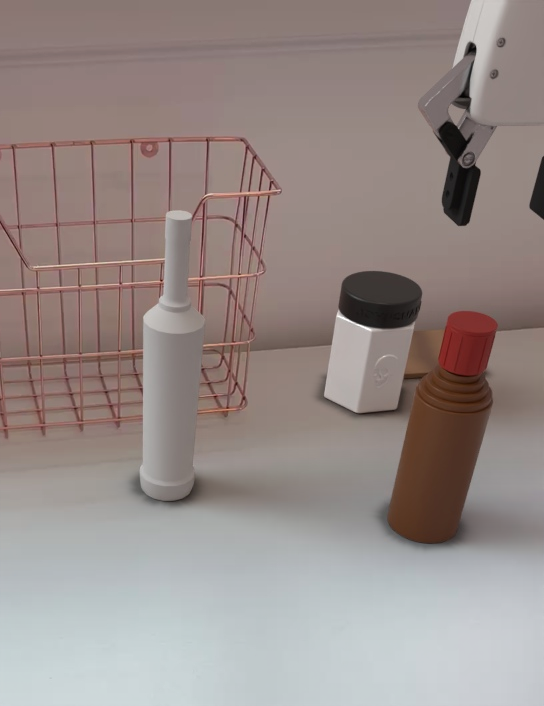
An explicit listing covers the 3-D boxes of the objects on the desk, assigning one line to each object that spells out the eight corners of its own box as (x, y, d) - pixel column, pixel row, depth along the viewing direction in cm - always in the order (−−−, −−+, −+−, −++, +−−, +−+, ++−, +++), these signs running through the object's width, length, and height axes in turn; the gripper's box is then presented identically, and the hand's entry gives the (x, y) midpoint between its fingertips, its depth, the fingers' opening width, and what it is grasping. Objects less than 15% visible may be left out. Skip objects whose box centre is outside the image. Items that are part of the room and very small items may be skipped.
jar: (337, 417, 107) (356, 307, 99) (310, 379, 113) (326, 272, 105) (416, 409, 109) (440, 301, 101) (385, 373, 115) (406, 267, 107)
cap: (474, 351, 85) (485, 309, 83) (494, 374, 82) (506, 331, 80) (430, 354, 84) (440, 311, 82) (449, 377, 82) (459, 334, 79)
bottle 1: (142, 468, 98) (150, 200, 81) (196, 474, 98) (215, 206, 81) (135, 499, 94) (141, 224, 78) (191, 505, 94) (209, 230, 77)
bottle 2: (440, 499, 97) (491, 306, 84) (468, 540, 92) (526, 342, 80) (377, 505, 96) (418, 310, 83) (402, 546, 91) (450, 347, 78)
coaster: (447, 333, 123) (448, 328, 123) (483, 373, 116) (484, 368, 116) (369, 337, 121) (370, 333, 121) (400, 379, 114) (401, 374, 114)
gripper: (664, -84, 68) (580, 196, 80) (419, -91, 64) (370, 202, 77) (732, -64, 62) (630, 233, 74) (468, -71, 59) (407, 242, 71)
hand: (499, 215), depth 75 cm, fingers open, 6 cm apart
